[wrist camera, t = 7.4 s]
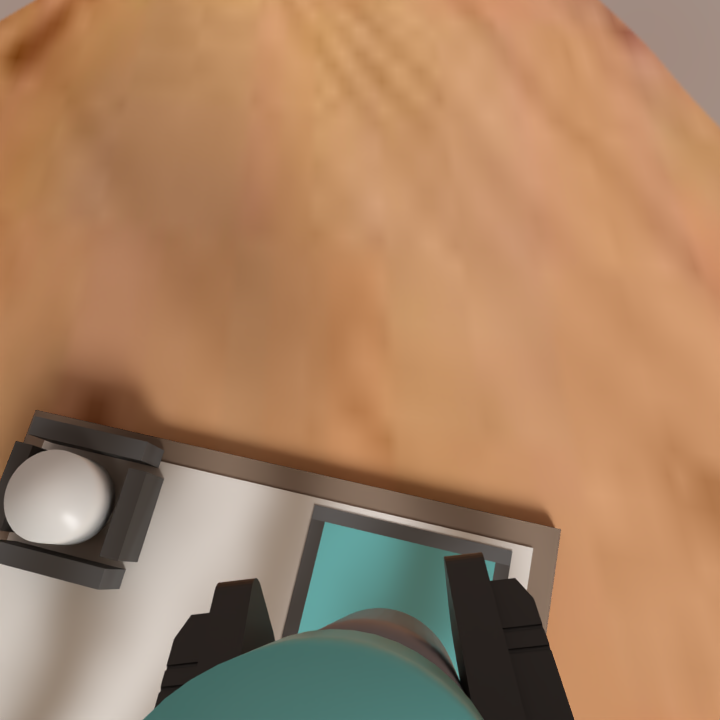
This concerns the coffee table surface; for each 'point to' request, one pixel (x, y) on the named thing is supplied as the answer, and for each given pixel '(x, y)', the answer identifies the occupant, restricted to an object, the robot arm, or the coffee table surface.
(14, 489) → the button
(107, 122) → the coffee table surface
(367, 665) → the ball
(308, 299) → the coffee table surface
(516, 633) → the robot arm
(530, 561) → the board
